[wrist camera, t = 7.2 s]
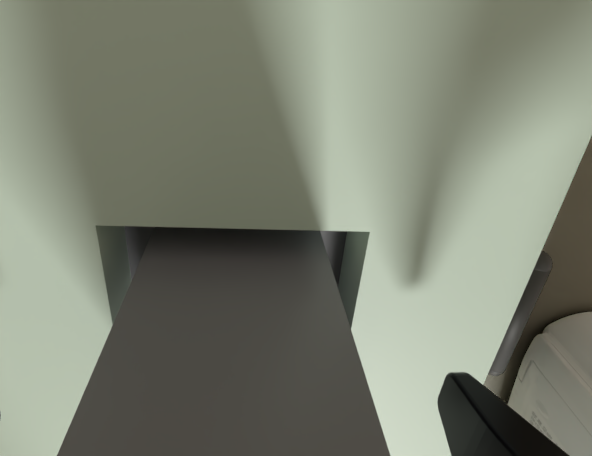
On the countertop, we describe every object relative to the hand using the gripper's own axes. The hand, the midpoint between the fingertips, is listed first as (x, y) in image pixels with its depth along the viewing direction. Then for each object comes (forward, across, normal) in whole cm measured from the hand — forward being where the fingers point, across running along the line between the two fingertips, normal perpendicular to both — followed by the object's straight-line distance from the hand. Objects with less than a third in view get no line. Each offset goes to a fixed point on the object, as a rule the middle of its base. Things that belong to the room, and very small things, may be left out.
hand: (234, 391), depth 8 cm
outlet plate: (+4, 0, 0) cm, 4 cm away
